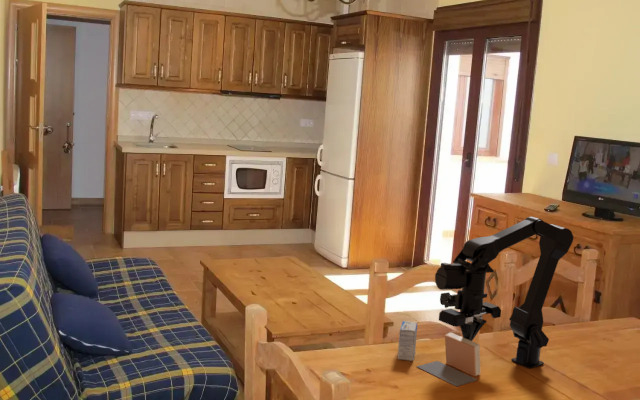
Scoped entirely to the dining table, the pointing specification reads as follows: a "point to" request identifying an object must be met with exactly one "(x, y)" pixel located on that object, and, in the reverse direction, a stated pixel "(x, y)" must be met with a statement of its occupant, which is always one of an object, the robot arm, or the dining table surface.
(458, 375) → the grey mat
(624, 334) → the dining table surface
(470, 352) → the tile
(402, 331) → the medicine box
